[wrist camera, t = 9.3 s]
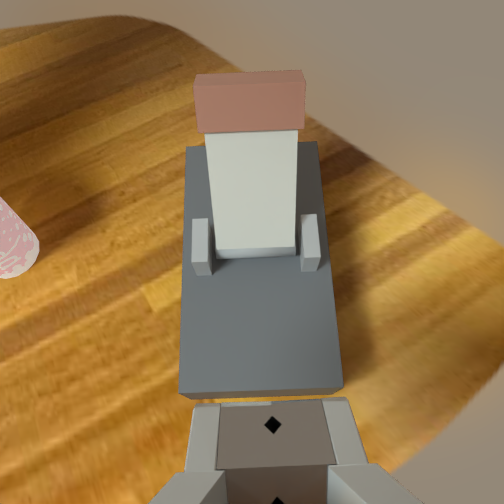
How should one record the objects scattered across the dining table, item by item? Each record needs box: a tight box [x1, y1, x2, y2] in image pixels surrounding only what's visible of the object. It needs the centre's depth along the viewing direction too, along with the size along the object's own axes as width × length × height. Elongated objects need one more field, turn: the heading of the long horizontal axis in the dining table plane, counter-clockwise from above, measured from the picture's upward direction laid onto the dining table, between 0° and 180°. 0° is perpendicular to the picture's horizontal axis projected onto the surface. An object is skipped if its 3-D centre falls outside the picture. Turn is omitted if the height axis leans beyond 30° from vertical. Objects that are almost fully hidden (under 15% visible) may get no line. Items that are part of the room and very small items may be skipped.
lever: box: [193, 70, 306, 259], centre depth 26 cm, size 6×2×12 cm, turn 92°
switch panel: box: [179, 141, 344, 399], centre depth 31 cm, size 10×18×8 cm, turn 2°
